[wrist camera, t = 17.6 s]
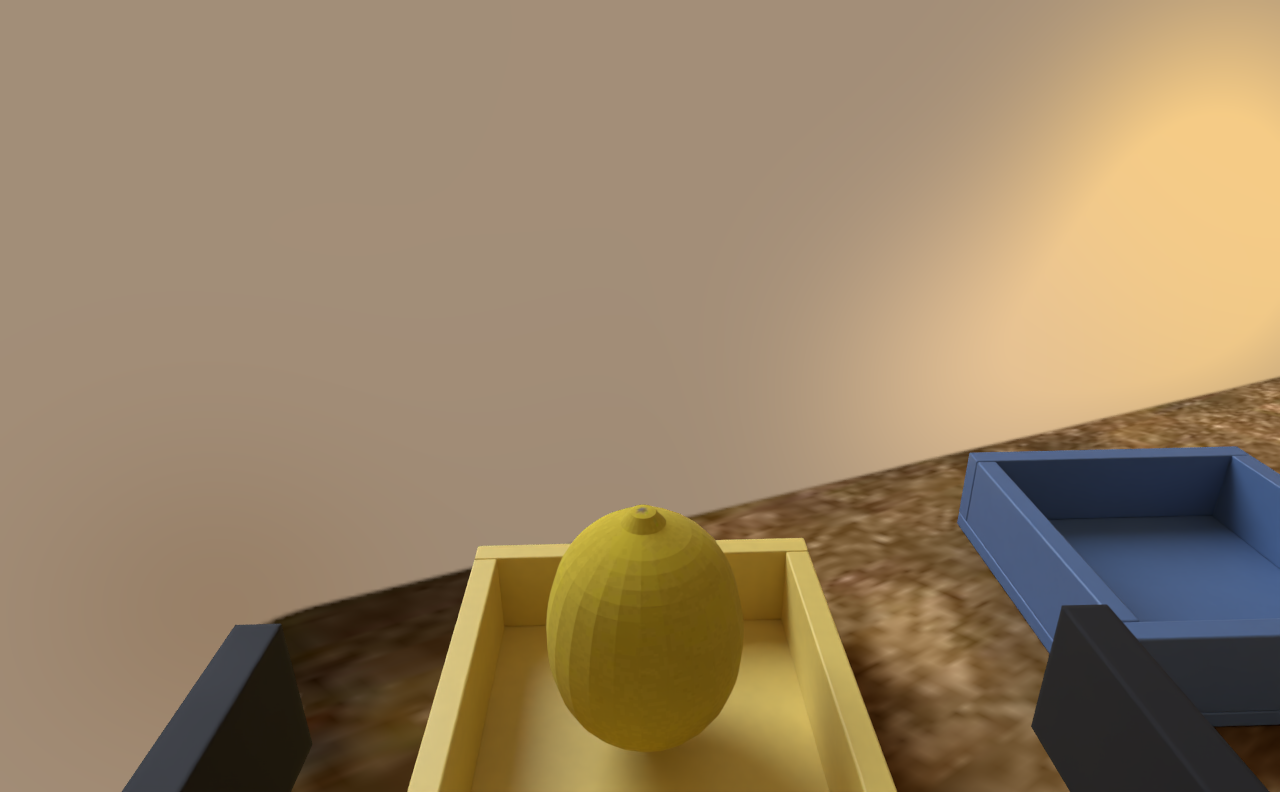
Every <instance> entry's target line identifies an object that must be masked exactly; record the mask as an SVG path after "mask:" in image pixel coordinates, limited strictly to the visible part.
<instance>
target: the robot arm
mask: <svg viewBox="0 0 1280 792" xmlns="http://www.w3.org/2000/svg"><path fill="white" fill-rule="evenodd" d="M1031 727H1032V729H1033V730H1034V732H1035V734H1036V735H1037V737H1038V739H1039V740H1040V742H1041V744H1042V745H1043V747H1044V749H1045V750H1046V752H1047V754H1048V755H1049V757H1050V759H1051V760H1052V762H1053V764H1054V765H1055V767H1056V769H1057V770H1058V772H1059V774H1060V775H1061V777H1062V779H1063V780H1064V782H1065V784H1066V785H1067V787H1068V789H1069V791H1070V792H1269V791H1268V790H1267V789H1266V787H1265V786H1264V785H1263V784H1262V783H1261V782H1260V780H1259V779H1258V778H1257V777H1256V776H1255V775H1254V773H1253V772H1252V771H1251V770H1250V769H1249V768H1248V767H1247V765H1246V764H1245V763H1244V762H1243V761H1242V760H1241V758H1240V757H1239V756H1238V755H1237V754H1236V753H1235V752H1234V750H1233V749H1232V748H1231V747H1230V746H1229V745H1228V743H1227V742H1226V741H1225V740H1224V739H1223V738H1222V736H1221V735H1220V734H1219V733H1218V732H1217V731H1216V730H1215V728H1214V727H1213V726H1212V725H1211V724H1210V723H1209V721H1208V720H1207V719H1206V718H1205V717H1204V716H1203V715H1202V713H1201V712H1200V711H1199V710H1198V709H1197V708H1196V706H1195V705H1194V704H1193V703H1192V702H1191V701H1190V699H1189V698H1188V697H1187V696H1186V695H1185V694H1184V693H1183V691H1182V690H1181V689H1180V688H1179V687H1178V686H1177V684H1176V683H1175V682H1174V681H1173V680H1172V679H1171V678H1170V676H1169V675H1168V674H1167V673H1166V672H1165V671H1164V669H1163V668H1162V667H1161V666H1160V665H1159V664H1158V662H1157V661H1156V660H1155V659H1154V658H1153V657H1152V656H1151V654H1150V653H1149V652H1148V651H1147V650H1146V649H1145V647H1144V646H1143V645H1142V644H1141V643H1140V642H1139V641H1138V639H1137V638H1136V637H1135V636H1134V635H1133V634H1132V632H1131V631H1130V630H1129V629H1128V628H1127V627H1126V625H1125V624H1124V623H1123V622H1122V621H1121V620H1120V619H1119V617H1118V616H1117V615H1116V614H1115V613H1114V612H1113V610H1112V609H1111V608H1110V607H1109V606H1108V605H1107V604H1100V605H1062V607H1061V611H1060V615H1059V619H1058V623H1057V627H1056V631H1055V635H1054V639H1053V643H1052V647H1051V651H1050V654H1049V658H1048V662H1047V666H1046V670H1045V674H1044V678H1043V682H1042V686H1041V690H1040V694H1039V698H1038V702H1037V706H1036V710H1035V714H1034V718H1033V721H1032V725H1031ZM311 746H312V741H311V737H310V733H309V729H308V725H307V721H306V718H305V714H304V710H303V706H302V702H301V698H300V694H299V691H298V687H297V683H296V679H295V675H294V671H293V667H292V664H291V660H290V656H289V652H288V648H287V644H286V640H285V637H284V633H283V629H282V625H281V624H257V625H235V627H234V628H233V629H232V631H231V632H230V634H229V635H228V637H227V638H226V639H225V641H224V643H223V644H222V645H221V647H220V648H219V650H218V651H217V653H216V654H215V656H214V657H213V659H212V660H211V662H210V663H209V665H208V666H207V668H206V669H205V670H204V672H203V673H202V675H201V676H200V678H199V679H198V681H197V682H196V684H195V685H194V686H193V688H192V689H191V691H190V692H189V694H188V695H187V697H186V698H185V700H184V701H183V703H182V704H181V706H180V707H179V709H178V710H177V711H176V713H175V714H174V716H173V717H172V719H171V720H170V722H169V723H168V725H167V726H166V728H165V729H164V730H163V732H162V733H161V735H160V736H159V738H158V739H157V741H156V742H155V744H154V745H153V747H152V748H151V750H150V751H149V752H148V754H147V755H146V757H145V758H144V760H143V761H142V763H141V764H140V766H139V767H138V769H137V770H136V771H135V773H134V774H133V776H132V777H131V779H130V780H129V782H128V783H127V785H126V786H125V788H124V789H123V791H122V792H291V790H292V788H293V786H294V784H295V781H296V779H297V777H298V775H299V773H300V770H301V768H302V766H303V764H304V762H305V759H306V757H307V755H308V753H309V751H310V748H311Z"/></svg>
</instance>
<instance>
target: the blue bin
mask: <svg viewBox="0 0 1280 792" xmlns="http://www.w3.org/2000/svg"><path fill="white" fill-rule="evenodd" d="M959 512H960V513H959V516H958V522H957V523H958V525H959V526H960V528H961V529H962V531H963V532H964V533H965V535H966V536H967V538H968V539H969V540H970V542H971V543H972V545H973V546H974V548H975V549H976V550H977V552H978V553H979V555H980V556H981V557H982V559H983V560H984V562H985V563H986V564H987V566H988V567H989V569H990V570H991V572H992V573H993V574H994V576H995V577H996V579H997V580H998V581H999V583H1000V584H1001V586H1002V587H1003V588H1004V590H1005V591H1006V593H1007V594H1008V596H1009V597H1010V598H1011V600H1012V601H1013V603H1014V604H1015V605H1016V607H1017V608H1018V610H1019V611H1020V612H1021V614H1022V615H1023V617H1024V618H1025V620H1026V621H1027V622H1028V624H1029V625H1030V627H1031V628H1032V629H1033V631H1034V632H1035V634H1036V635H1037V636H1038V638H1039V639H1040V641H1041V642H1042V644H1043V645H1044V646H1045V648H1046V649H1047V651H1048V652H1049V653H1050V651H1051V647H1052V643H1053V639H1054V635H1055V631H1056V627H1057V623H1058V619H1059V615H1060V611H1061V607H1062V605H1100V604H1107V605H1108V606H1109V607H1110V608H1111V609H1112V610H1113V612H1114V613H1115V614H1116V615H1117V616H1118V617H1119V619H1120V620H1121V621H1122V622H1123V623H1124V624H1125V625H1126V627H1127V628H1128V629H1129V630H1130V631H1131V632H1132V634H1133V635H1134V636H1135V637H1136V638H1137V639H1138V641H1139V642H1140V643H1141V644H1142V645H1143V646H1144V647H1145V649H1146V650H1147V651H1148V652H1149V653H1150V654H1151V656H1152V657H1153V658H1154V659H1155V660H1156V661H1157V662H1158V664H1159V665H1160V666H1161V667H1162V668H1163V669H1164V671H1165V672H1166V673H1167V674H1168V675H1169V676H1170V678H1171V679H1172V680H1173V681H1174V682H1175V683H1176V684H1177V686H1178V687H1179V688H1180V689H1181V690H1182V691H1183V693H1184V694H1185V695H1186V696H1187V697H1188V698H1189V699H1190V701H1191V702H1192V703H1193V704H1194V705H1195V706H1196V708H1197V709H1198V710H1199V711H1200V712H1201V713H1202V715H1203V716H1204V717H1205V718H1206V719H1207V720H1208V721H1209V723H1210V724H1211V725H1212V726H1213V727H1214V726H1249V725H1280V474H1278V473H1277V472H1275V471H1274V470H1272V469H1271V468H1269V467H1268V466H1266V465H1264V464H1263V463H1261V462H1260V461H1258V460H1257V459H1255V458H1254V457H1252V456H1250V455H1249V454H1247V453H1246V452H1244V451H1243V450H1241V449H1240V448H1238V447H1197V448H1155V449H1112V450H1070V451H1028V452H985V453H970V454H969V460H968V465H967V471H966V476H965V482H964V488H963V493H962V499H961V504H960V510H959Z"/></svg>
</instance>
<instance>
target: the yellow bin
mask: <svg viewBox="0 0 1280 792" xmlns="http://www.w3.org/2000/svg"><path fill="white" fill-rule="evenodd" d="M715 541H716V542H717V544H718V545H719V547H720V548H721V550H722V551H723V553H724V554H725V556H726V557H727V560H728V562H729V564H730V566H731V568H732V571H733V574H734V577H735V581H736V585H737V589H738V593H739V598H740V602H741V608H742V613H743V623H744V640H743V649H742V655H741V661H740V667H739V672H738V676H737V680H736V683H735V685H734V688H733V690H732V692H731V694H730V696H729V698H728V700H727V702H726V704H725V705H724V707H723V709H722V710H721V712H720V714H719V715H718V716H717V717H716V718H715V719H714V720H713V721H712V722H711V723H710V724H709V725H708V726H707V727H706V728H705V729H704V730H703V731H702V732H701V733H700V734H699V735H697V736H695V737H693V738H692V739H690V740H688V741H686V742H685V743H683V744H681V745H679V746H676V747H673V748H670V749H666V750H663V751H654V752H637V751H629V750H624V749H621V748H618V747H615V746H612V745H610V744H607V743H605V742H603V741H602V740H600V739H599V738H597V737H596V736H594V735H593V734H591V733H590V732H588V731H587V730H586V729H585V728H584V727H583V726H582V725H581V724H580V723H579V722H578V721H577V719H576V718H575V717H574V716H573V715H572V714H571V713H570V711H569V710H568V708H567V707H566V705H565V703H564V701H563V699H562V697H561V695H560V692H559V690H558V688H557V685H556V683H555V681H554V678H553V675H552V672H551V668H550V663H549V658H548V649H547V632H546V619H547V608H548V602H549V597H550V592H551V588H552V585H553V582H554V578H555V575H556V572H557V569H558V566H559V564H560V562H561V559H562V557H563V555H564V554H565V552H566V551H567V549H568V548H569V546H570V545H571V544H544V545H505V546H479V547H478V549H477V553H476V556H475V561H474V564H473V567H472V570H471V574H470V577H469V581H468V584H467V588H466V591H465V595H464V598H463V601H462V605H461V608H460V612H459V615H458V619H457V622H456V626H455V629H454V633H453V636H452V639H451V643H450V646H449V650H448V653H447V657H446V660H445V664H444V667H443V670H442V674H441V677H440V681H439V684H438V688H437V691H436V695H435V698H434V702H433V705H432V708H431V712H430V715H429V719H428V722H427V726H426V729H425V733H424V736H423V739H422V743H421V746H420V750H419V753H418V757H417V760H416V764H415V767H414V771H413V774H412V777H411V781H410V784H409V788H408V791H407V792H897V790H896V787H895V784H894V782H893V779H892V776H891V774H890V771H889V768H888V765H887V763H886V760H885V757H884V755H883V752H882V749H881V747H880V744H879V741H878V739H877V736H876V733H875V730H874V728H873V725H872V722H871V720H870V717H869V714H868V712H867V709H866V706H865V703H864V701H863V698H862V695H861V693H860V690H859V687H858V685H857V682H856V679H855V676H854V674H853V671H852V668H851V666H850V663H849V660H848V658H847V655H846V652H845V650H844V647H843V644H842V641H841V639H840V636H839V633H838V631H837V628H836V625H835V623H834V620H833V617H832V614H831V612H830V609H829V606H828V604H827V601H826V598H825V596H824V593H823V590H822V587H821V585H820V582H819V579H818V577H817V574H816V571H815V569H814V566H813V563H812V561H811V558H810V555H809V553H808V549H807V546H806V544H805V541H804V539H803V538H784V539H744V540H715Z"/></svg>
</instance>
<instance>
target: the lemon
mask: <svg viewBox="0 0 1280 792" xmlns="http://www.w3.org/2000/svg"><path fill="white" fill-rule="evenodd" d="M546 632H547V649H548V658H549V663H550V668H551V672H552V675H553V678H554V681H555V683H556V685H557V688H558V690H559V692H560V695H561V697H562V699H563V701H564V703H565V705H566V707H567V708H568V710H569V711H570V713H571V714H572V715H573V716H574V717H575V718H576V719H577V721H578V722H579V723H580V724H581V725H582V726H583V727H584V728H585V729H586V730H587V731H588V732H590V733H591V734H593V735H594V736H596V737H597V738H599V739H600V740H602V741H603V742H605V743H607V744H610V745H612V746H615V747H618V748H621V749H624V750H629V751H637V752H654V751H663V750H666V749H670V748H673V747H676V746H679V745H681V744H683V743H685V742H686V741H688V740H690V739H692V738H693V737H695V736H697V735H699V734H700V733H701V732H702V731H703V730H704V729H705V728H706V727H707V726H708V725H709V724H710V723H711V722H712V721H713V720H714V719H715V718H716V717H717V716H718V715H719V714H720V712H721V710H722V709H723V707H724V705H725V704H726V702H727V700H728V698H729V696H730V694H731V692H732V690H733V688H734V685H735V683H736V680H737V676H738V672H739V667H740V661H741V655H742V649H743V640H744V623H743V613H742V608H741V602H740V598H739V593H738V589H737V585H736V581H735V577H734V574H733V571H732V568H731V566H730V564H729V562H728V560H727V557H726V556H725V554H724V553H723V551H722V550H721V548H720V547H719V545H718V544H717V542H716V541H715V540H714V538H713V537H712V536H711V535H709V534H708V533H707V532H706V531H705V530H704V529H703V528H701V527H700V526H699V525H698V524H697V523H695V522H694V521H692V520H690V519H688V518H687V517H685V516H683V515H681V514H679V513H676V512H673V511H670V510H666V509H663V508H658V507H652V506H649V505H637V506H635V507H631V508H626V509H622V510H618V511H615V512H613V513H610V514H608V515H606V516H604V517H602V518H600V519H598V520H597V521H595V522H594V523H592V524H591V525H590V526H589V527H587V528H586V529H585V530H583V531H582V532H581V533H580V534H579V535H578V536H577V537H576V539H575V540H574V541H573V542H572V544H571V545H570V546H569V548H568V549H567V551H566V552H565V554H564V555H563V557H562V559H561V562H560V564H559V566H558V569H557V572H556V575H555V578H554V582H553V585H552V588H551V592H550V597H549V602H548V608H547V619H546Z"/></svg>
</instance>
